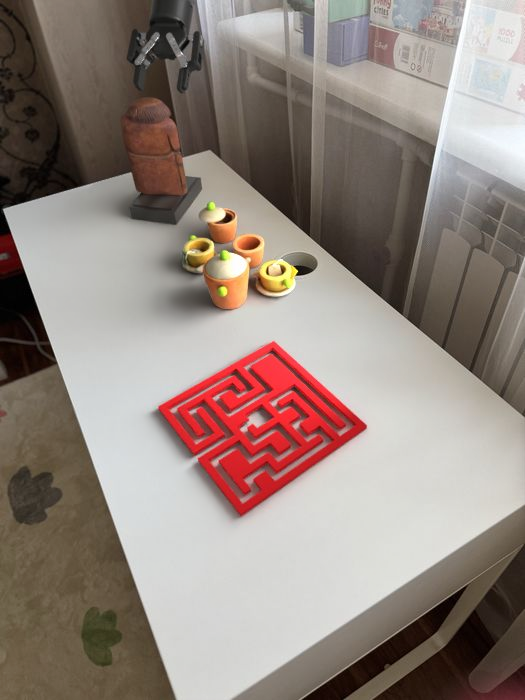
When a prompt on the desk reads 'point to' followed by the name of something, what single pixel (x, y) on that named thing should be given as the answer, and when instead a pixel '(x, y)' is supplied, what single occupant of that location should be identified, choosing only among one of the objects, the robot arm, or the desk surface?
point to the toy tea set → (234, 261)
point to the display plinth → (165, 204)
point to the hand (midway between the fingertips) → (159, 90)
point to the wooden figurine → (153, 148)
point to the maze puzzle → (235, 461)
